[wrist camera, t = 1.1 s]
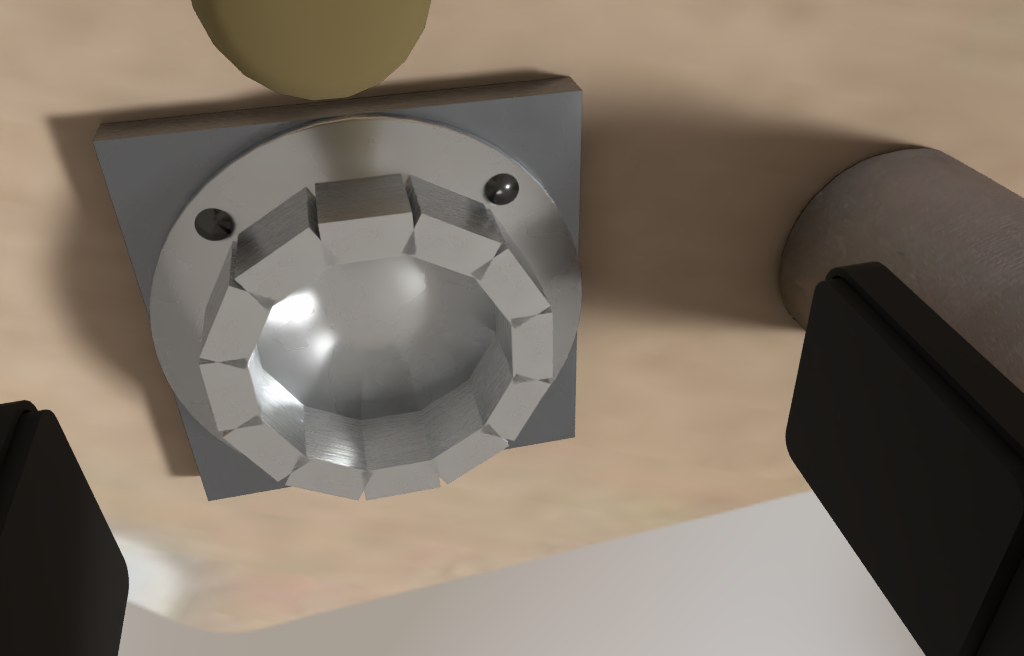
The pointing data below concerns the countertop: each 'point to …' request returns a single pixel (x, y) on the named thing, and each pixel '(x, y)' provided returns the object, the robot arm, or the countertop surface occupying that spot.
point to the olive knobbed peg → (314, 41)
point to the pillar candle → (922, 245)
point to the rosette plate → (359, 281)
